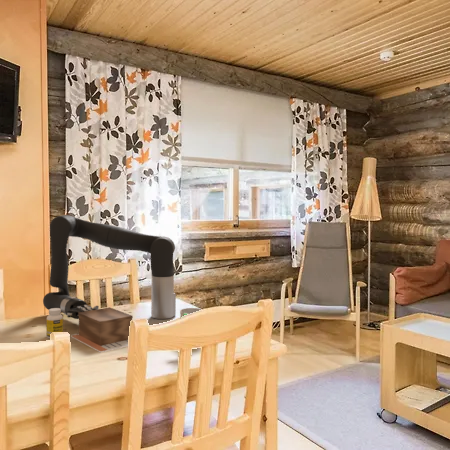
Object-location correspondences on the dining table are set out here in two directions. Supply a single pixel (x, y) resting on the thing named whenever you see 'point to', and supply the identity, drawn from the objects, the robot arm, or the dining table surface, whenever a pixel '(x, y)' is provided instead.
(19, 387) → the dining table surface
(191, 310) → the cup
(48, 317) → the supplement bottle
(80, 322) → the walnut box
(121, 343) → the letter
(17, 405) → the dining table surface
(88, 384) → the dining table surface
